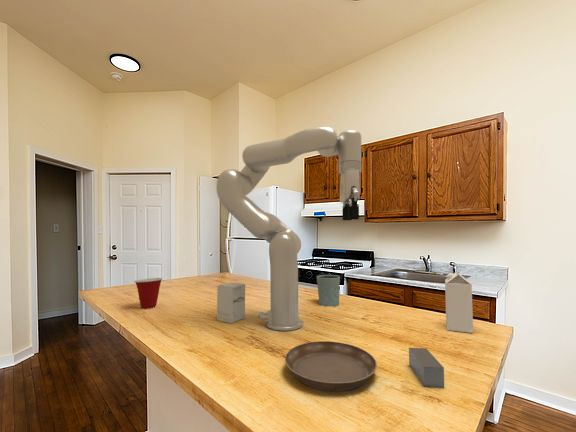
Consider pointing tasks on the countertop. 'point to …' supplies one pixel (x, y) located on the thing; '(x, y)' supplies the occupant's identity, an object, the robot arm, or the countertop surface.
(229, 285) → the supplement box
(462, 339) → the countertop surface
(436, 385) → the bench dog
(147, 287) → the plastic cup
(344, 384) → the plant saucer
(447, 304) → the milk carton
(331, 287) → the grey green tapered pot
